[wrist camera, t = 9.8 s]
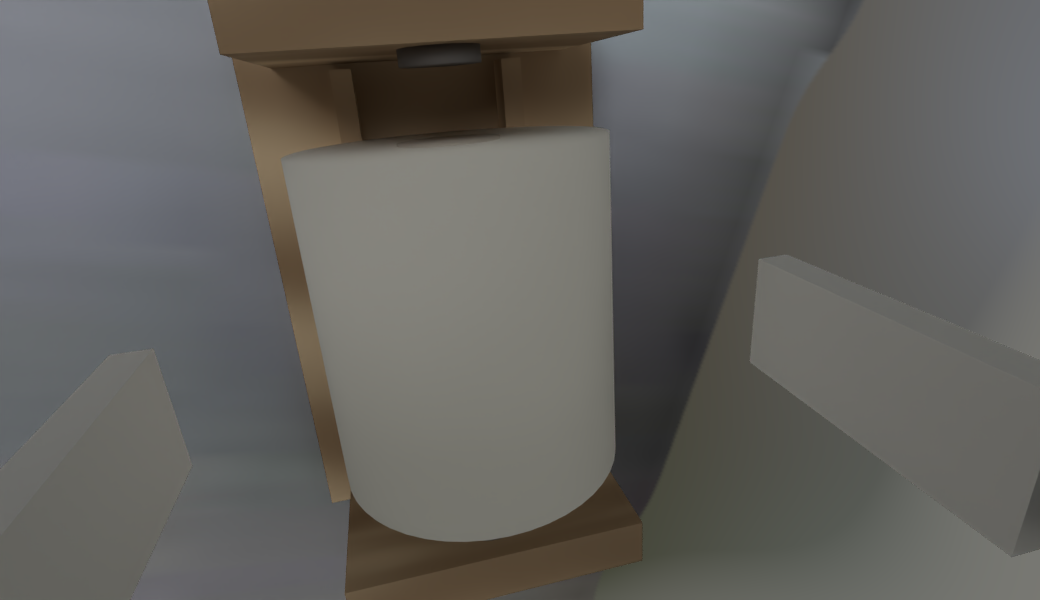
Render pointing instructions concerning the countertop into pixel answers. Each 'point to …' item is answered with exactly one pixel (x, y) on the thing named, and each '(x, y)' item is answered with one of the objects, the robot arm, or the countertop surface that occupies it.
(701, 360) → the countertop surface
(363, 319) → the roll
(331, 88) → the holder
